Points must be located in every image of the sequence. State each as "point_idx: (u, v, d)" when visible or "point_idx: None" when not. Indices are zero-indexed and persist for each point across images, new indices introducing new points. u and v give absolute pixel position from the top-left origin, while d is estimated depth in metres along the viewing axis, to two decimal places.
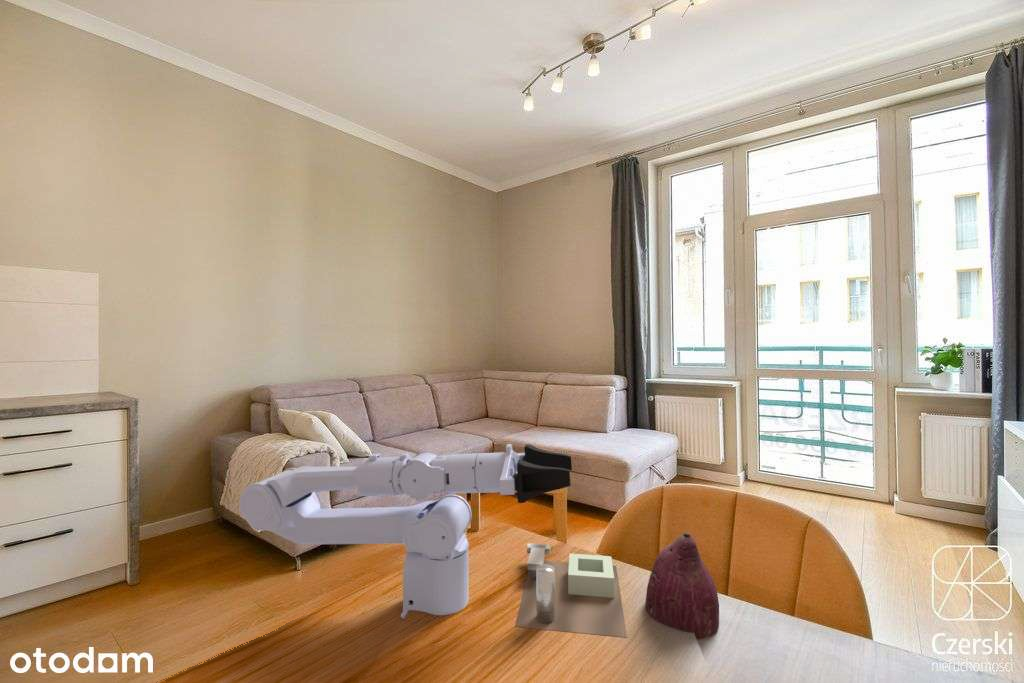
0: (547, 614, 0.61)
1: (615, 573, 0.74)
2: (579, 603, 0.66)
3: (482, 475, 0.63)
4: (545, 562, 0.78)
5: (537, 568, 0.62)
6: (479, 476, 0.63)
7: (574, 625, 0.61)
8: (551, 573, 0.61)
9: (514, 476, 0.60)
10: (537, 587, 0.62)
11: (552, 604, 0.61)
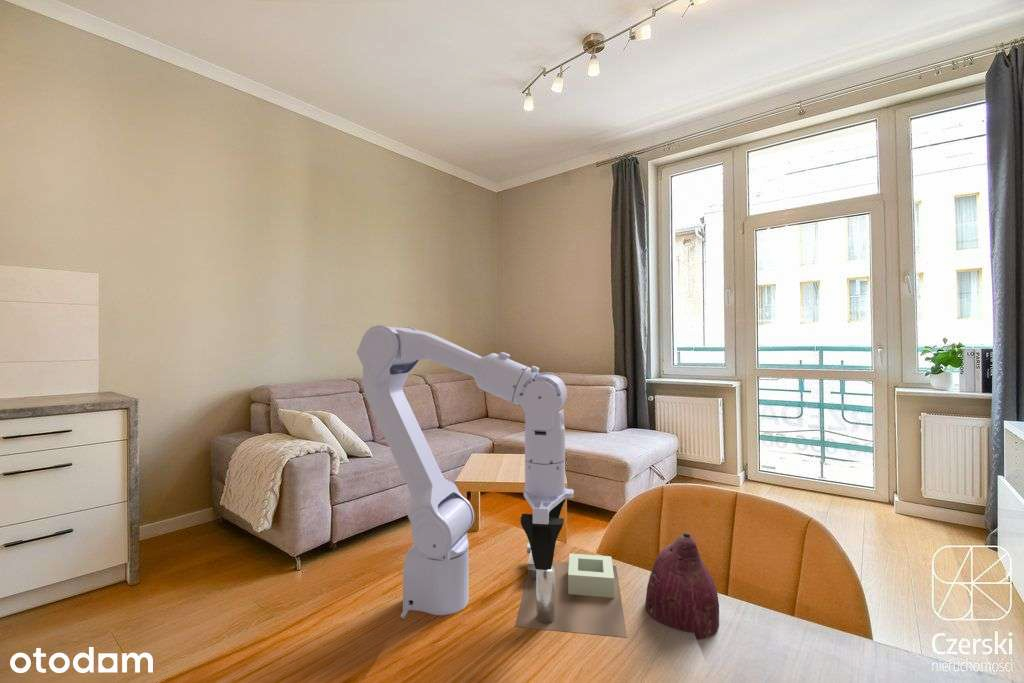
0: (547, 614, 0.61)
1: (615, 573, 0.74)
2: (579, 603, 0.66)
3: (546, 472, 0.60)
4: None
5: None
6: (545, 469, 0.60)
7: (574, 625, 0.61)
8: (551, 574, 0.61)
9: None
10: (537, 587, 0.62)
11: (552, 604, 0.61)
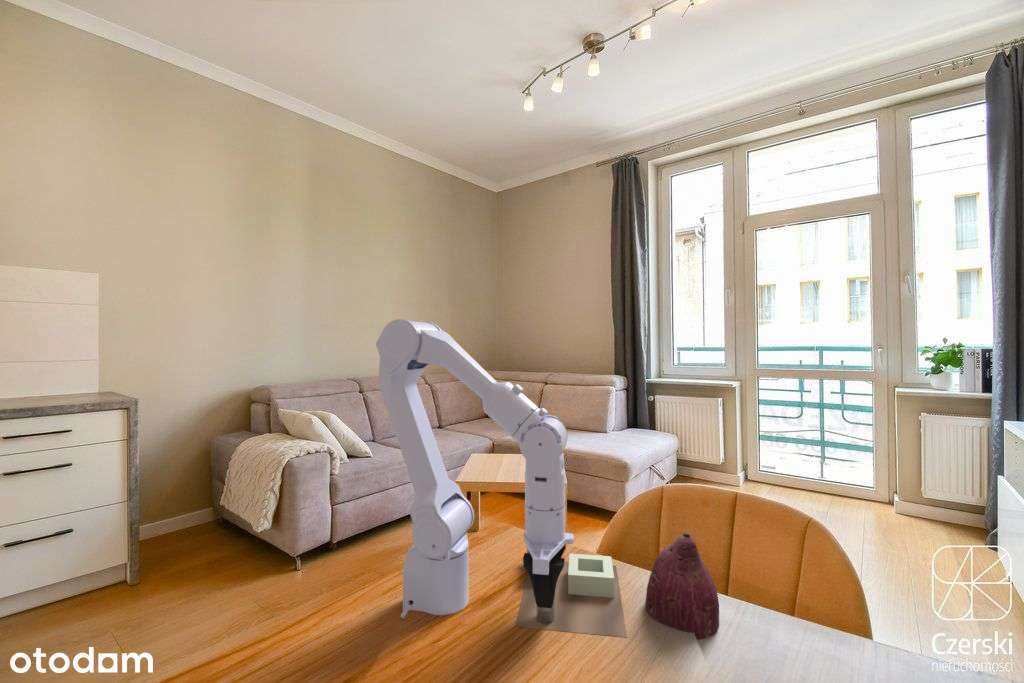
0: (547, 614, 0.61)
1: (615, 573, 0.74)
2: (579, 603, 0.66)
3: (546, 519, 0.60)
4: None
5: None
6: (545, 515, 0.60)
7: (574, 625, 0.61)
8: None
9: None
10: None
11: None
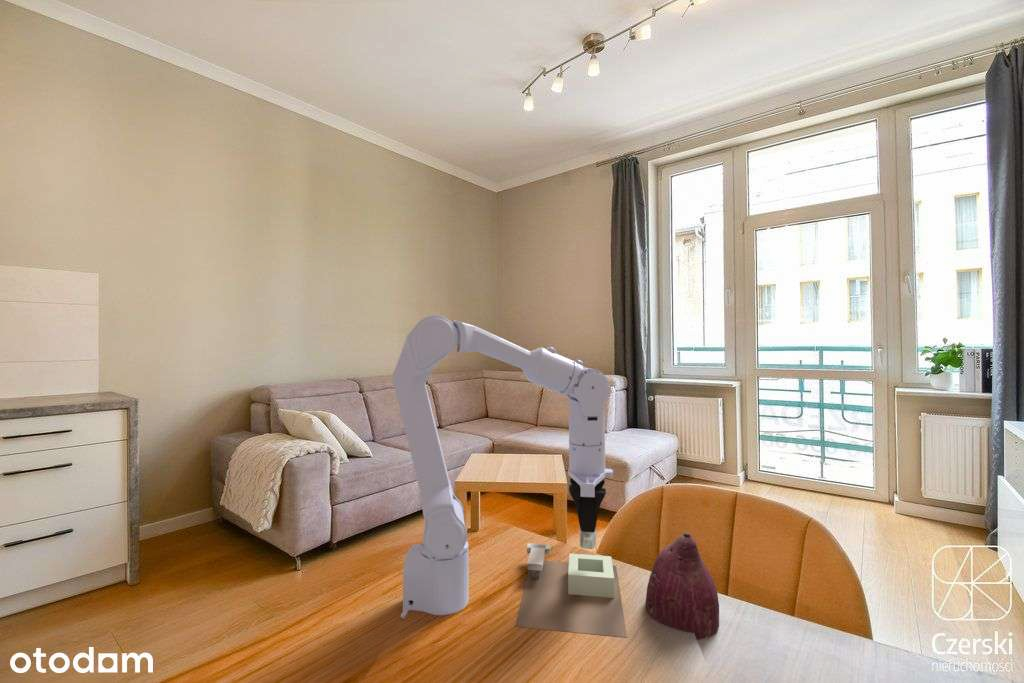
0: (591, 541, 0.69)
1: (615, 573, 0.74)
2: (579, 603, 0.66)
3: (589, 453, 0.68)
4: (545, 562, 0.78)
5: None
6: (588, 450, 0.68)
7: (574, 625, 0.61)
8: None
9: None
10: None
11: (594, 532, 0.70)
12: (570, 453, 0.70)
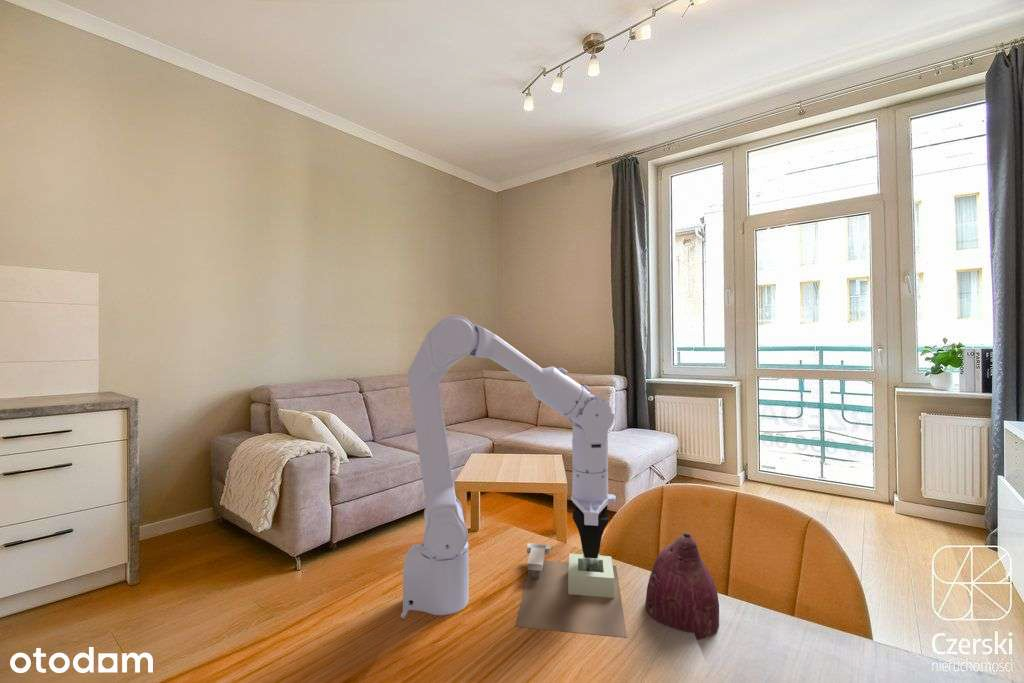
0: (594, 566, 0.70)
1: (615, 573, 0.74)
2: (579, 603, 0.66)
3: (592, 480, 0.68)
4: (545, 562, 0.78)
5: None
6: (592, 477, 0.68)
7: (574, 625, 0.61)
8: None
9: None
10: None
11: None
12: (573, 479, 0.71)
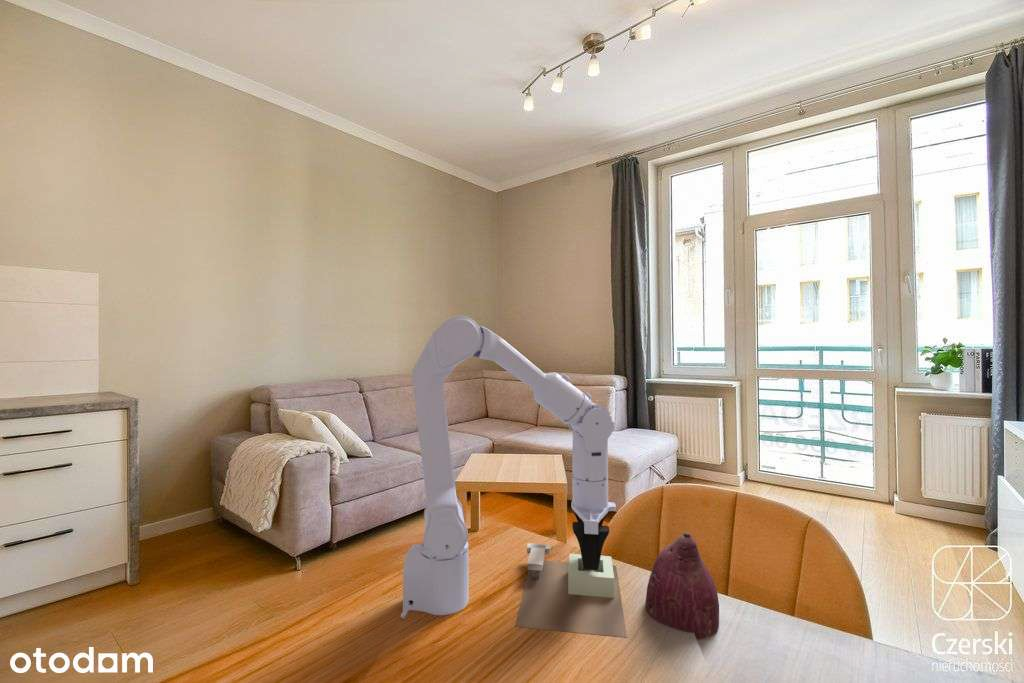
0: None
1: (615, 573, 0.74)
2: (579, 603, 0.66)
3: (592, 488, 0.68)
4: (545, 562, 0.78)
5: None
6: (592, 485, 0.68)
7: (574, 625, 0.61)
8: None
9: None
10: None
11: (597, 571, 0.70)
12: (573, 487, 0.71)
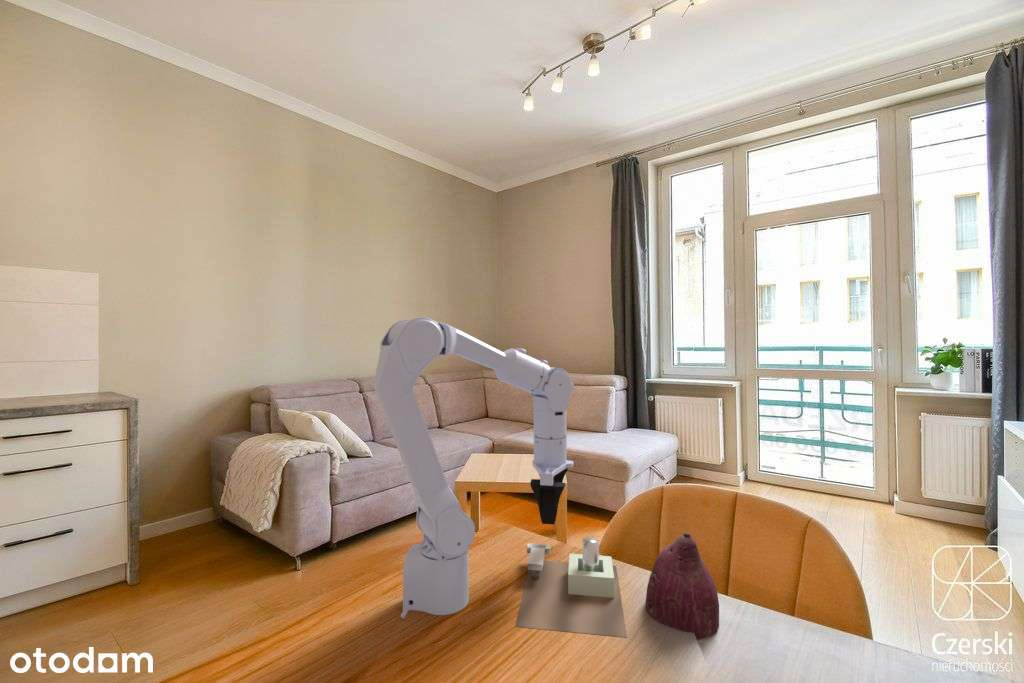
0: None
1: (615, 573, 0.74)
2: (579, 603, 0.66)
3: (551, 445, 0.73)
4: (545, 562, 0.78)
5: (583, 540, 0.71)
6: (550, 443, 0.73)
7: (574, 625, 0.61)
8: (597, 544, 0.70)
9: (552, 481, 0.71)
10: (584, 556, 0.71)
11: (597, 571, 0.70)
12: (534, 446, 0.75)
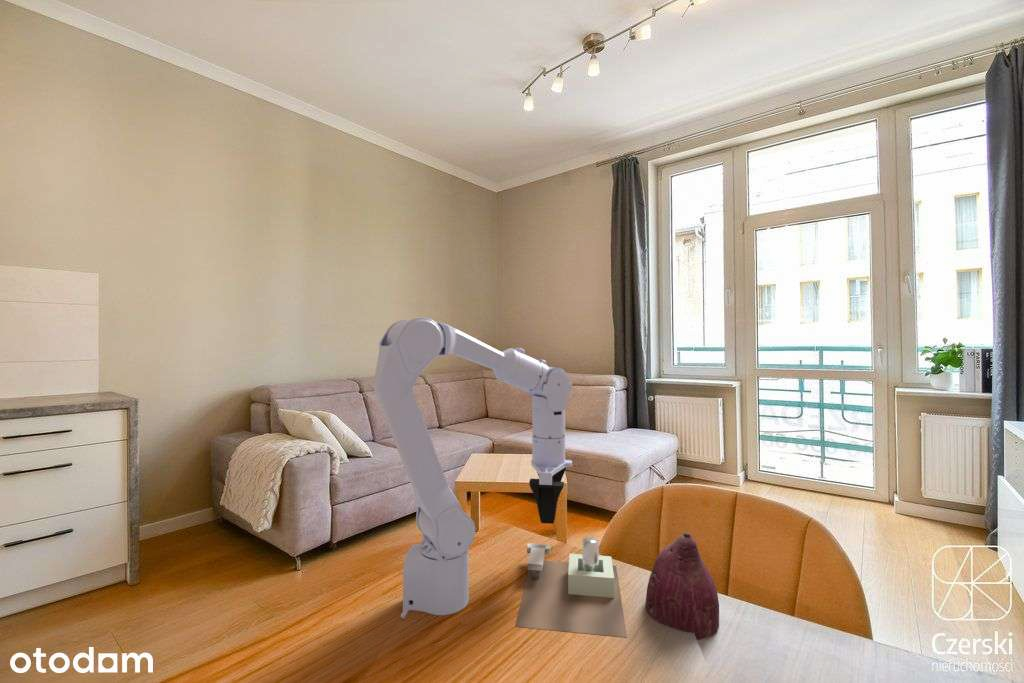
0: None
1: (615, 573, 0.74)
2: (579, 603, 0.66)
3: (549, 445, 0.73)
4: (545, 562, 0.78)
5: (583, 540, 0.71)
6: (549, 442, 0.73)
7: (574, 625, 0.61)
8: (597, 544, 0.70)
9: (551, 480, 0.71)
10: (584, 557, 0.71)
11: (597, 571, 0.70)
12: (533, 445, 0.76)
